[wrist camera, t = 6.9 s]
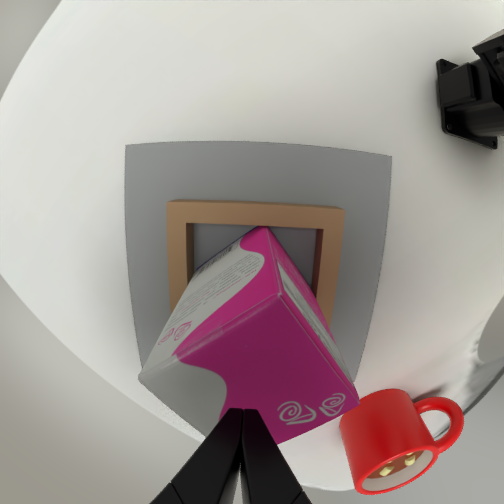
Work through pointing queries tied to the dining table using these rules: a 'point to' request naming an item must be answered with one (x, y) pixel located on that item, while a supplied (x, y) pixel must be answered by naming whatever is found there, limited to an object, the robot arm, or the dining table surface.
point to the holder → (256, 224)
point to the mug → (394, 439)
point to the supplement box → (250, 345)
